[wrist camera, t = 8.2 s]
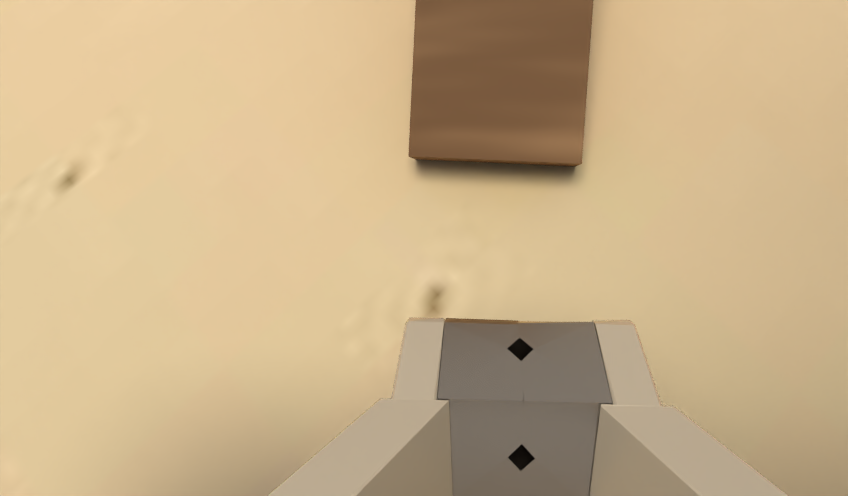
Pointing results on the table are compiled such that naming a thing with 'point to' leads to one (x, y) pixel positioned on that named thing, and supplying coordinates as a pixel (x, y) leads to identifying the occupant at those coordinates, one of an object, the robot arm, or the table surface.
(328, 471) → the robot arm
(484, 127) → the domino
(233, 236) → the table surface
